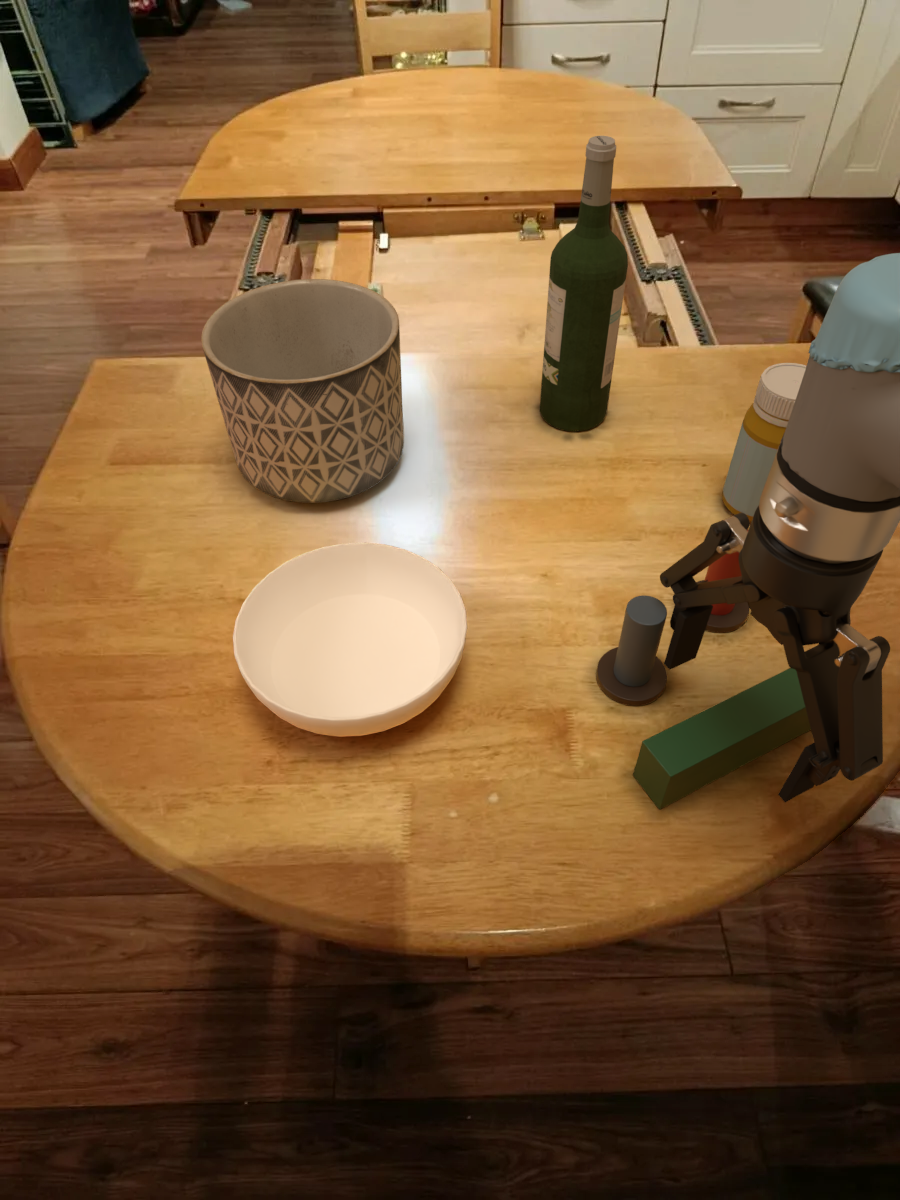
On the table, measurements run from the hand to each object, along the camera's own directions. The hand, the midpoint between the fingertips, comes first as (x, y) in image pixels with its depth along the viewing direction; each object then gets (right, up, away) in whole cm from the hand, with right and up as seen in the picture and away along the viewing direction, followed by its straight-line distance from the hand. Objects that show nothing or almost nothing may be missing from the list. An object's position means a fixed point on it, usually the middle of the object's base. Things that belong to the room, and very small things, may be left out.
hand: (734, 722), depth 66 cm
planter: (-37, +25, +29) cm, 53 cm away
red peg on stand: (+3, +9, +13) cm, 16 cm away
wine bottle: (-8, +32, +34) cm, 47 cm away
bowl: (-30, +3, +9) cm, 32 cm away
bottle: (+10, +19, +23) cm, 31 cm away
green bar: (0, -3, +3) cm, 4 cm away
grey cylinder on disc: (-6, +3, +8) cm, 10 cm away
